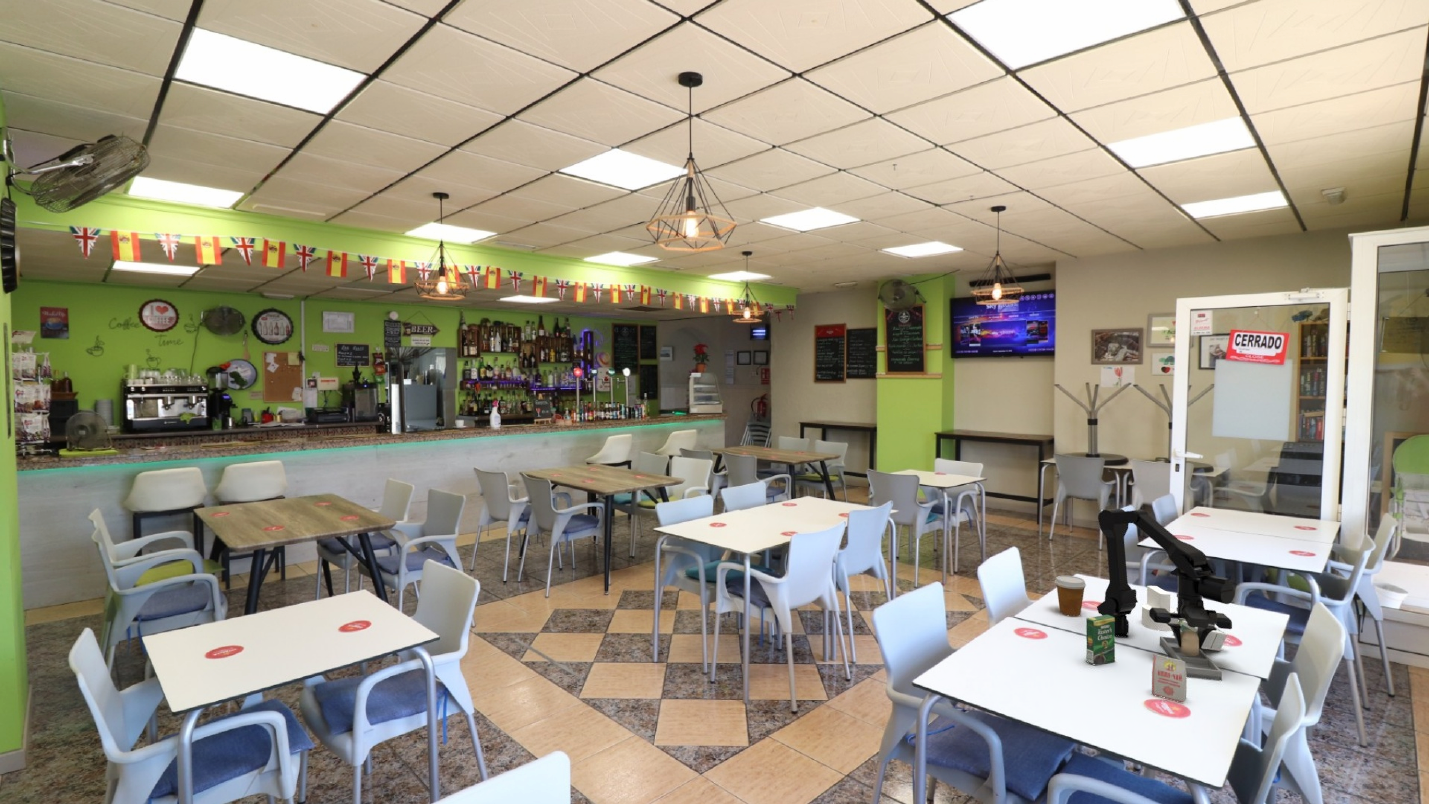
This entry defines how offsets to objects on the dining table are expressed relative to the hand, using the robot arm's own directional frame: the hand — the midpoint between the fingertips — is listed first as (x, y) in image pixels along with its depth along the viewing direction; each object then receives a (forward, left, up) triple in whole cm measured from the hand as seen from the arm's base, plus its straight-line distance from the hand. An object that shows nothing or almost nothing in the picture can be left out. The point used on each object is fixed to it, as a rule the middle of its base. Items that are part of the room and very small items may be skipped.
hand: (1189, 647), depth 193 cm
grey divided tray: (0, 0, -4) cm, 4 cm away
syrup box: (+11, +14, -1) cm, 17 cm away
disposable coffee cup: (-25, +34, -4) cm, 43 cm away
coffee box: (-24, -8, -4) cm, 26 cm away
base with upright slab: (0, +29, -4) cm, 30 cm away
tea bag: (-12, -26, -4) cm, 29 cm away
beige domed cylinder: (0, 0, -1) cm, 1 cm away
